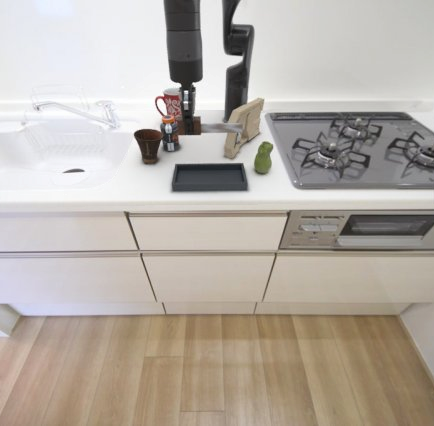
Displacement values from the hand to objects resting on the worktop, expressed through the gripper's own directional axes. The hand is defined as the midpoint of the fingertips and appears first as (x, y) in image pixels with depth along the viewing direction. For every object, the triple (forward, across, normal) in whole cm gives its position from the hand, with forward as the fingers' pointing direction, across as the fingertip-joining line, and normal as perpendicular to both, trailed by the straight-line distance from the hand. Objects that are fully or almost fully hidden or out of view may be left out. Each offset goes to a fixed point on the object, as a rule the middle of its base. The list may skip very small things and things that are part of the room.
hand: (189, 131), depth 63 cm
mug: (+15, +39, +10) cm, 43 cm away
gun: (+15, +22, -18) cm, 32 cm away
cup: (+15, +11, +14) cm, 23 cm away
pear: (+15, +3, -22) cm, 27 cm away
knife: (0, 0, -5) cm, 5 cm away
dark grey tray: (+15, -1, -5) cm, 16 cm away
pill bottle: (+15, +19, +9) cm, 26 cm away
